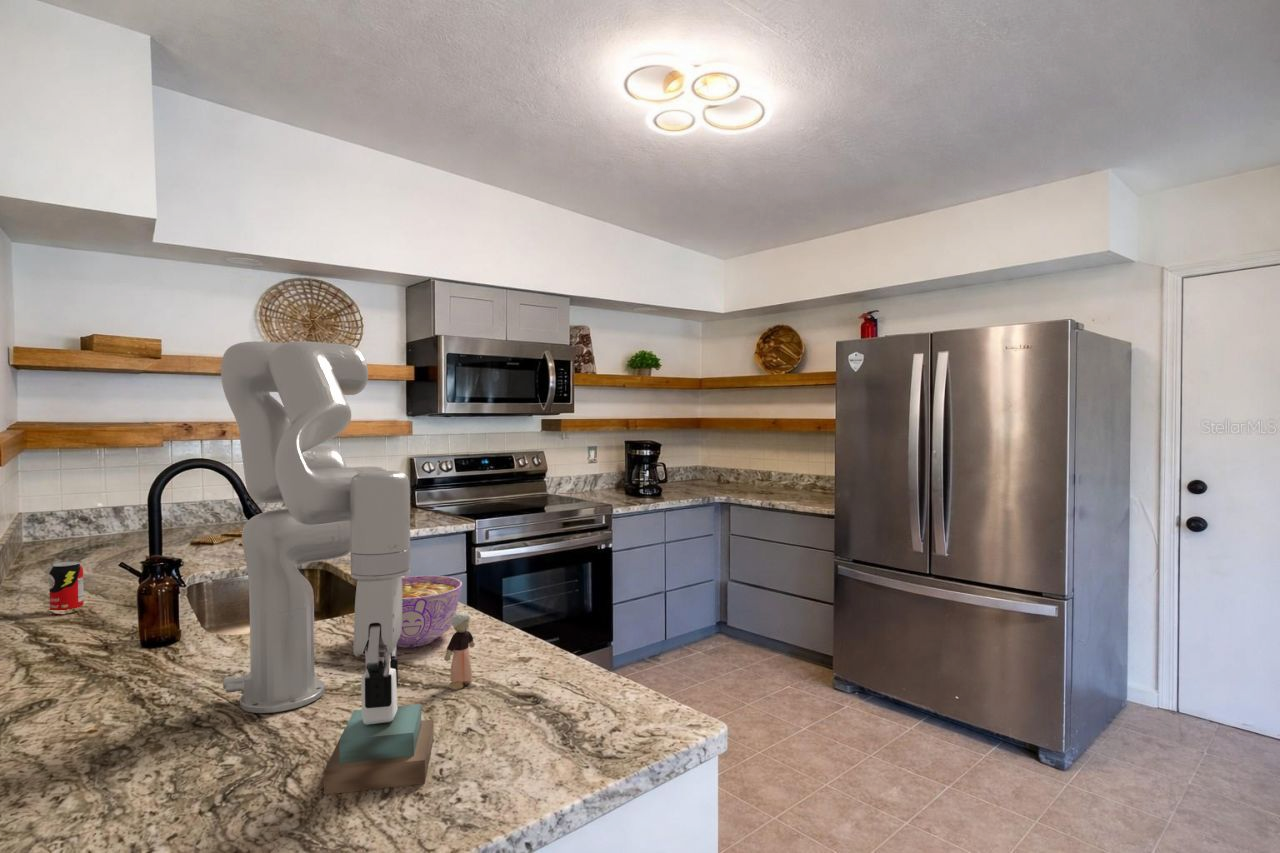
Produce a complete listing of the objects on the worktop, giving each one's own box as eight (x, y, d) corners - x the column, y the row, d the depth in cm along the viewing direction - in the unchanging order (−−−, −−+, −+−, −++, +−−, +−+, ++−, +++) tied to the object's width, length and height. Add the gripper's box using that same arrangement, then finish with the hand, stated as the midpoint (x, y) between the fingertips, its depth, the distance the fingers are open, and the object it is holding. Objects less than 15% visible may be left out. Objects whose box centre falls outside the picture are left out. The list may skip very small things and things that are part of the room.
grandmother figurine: (461, 692, 115) (461, 618, 115) (441, 691, 116) (440, 617, 116) (481, 676, 123) (480, 606, 123) (461, 674, 124) (461, 605, 124)
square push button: (324, 794, 84) (323, 746, 84) (345, 748, 96) (344, 706, 96) (425, 783, 87) (424, 736, 87) (433, 739, 98) (433, 698, 98)
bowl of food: (407, 664, 129) (406, 604, 129) (342, 646, 139) (341, 590, 139) (482, 635, 146) (482, 582, 146) (419, 621, 156) (419, 571, 156)
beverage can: (59, 609, 168) (58, 561, 168) (89, 607, 170) (88, 560, 170) (43, 616, 162) (43, 566, 162) (74, 615, 164) (73, 565, 163)
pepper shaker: (393, 723, 90) (390, 650, 90) (361, 727, 89) (358, 654, 89) (398, 711, 94) (395, 642, 94) (367, 715, 93) (365, 645, 93)
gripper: (363, 552, 99) (364, 676, 99) (336, 579, 82) (337, 728, 82) (417, 549, 100) (418, 672, 100) (401, 576, 83) (402, 722, 84)
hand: (382, 696), depth 91 cm, fingers open, 5 cm apart
